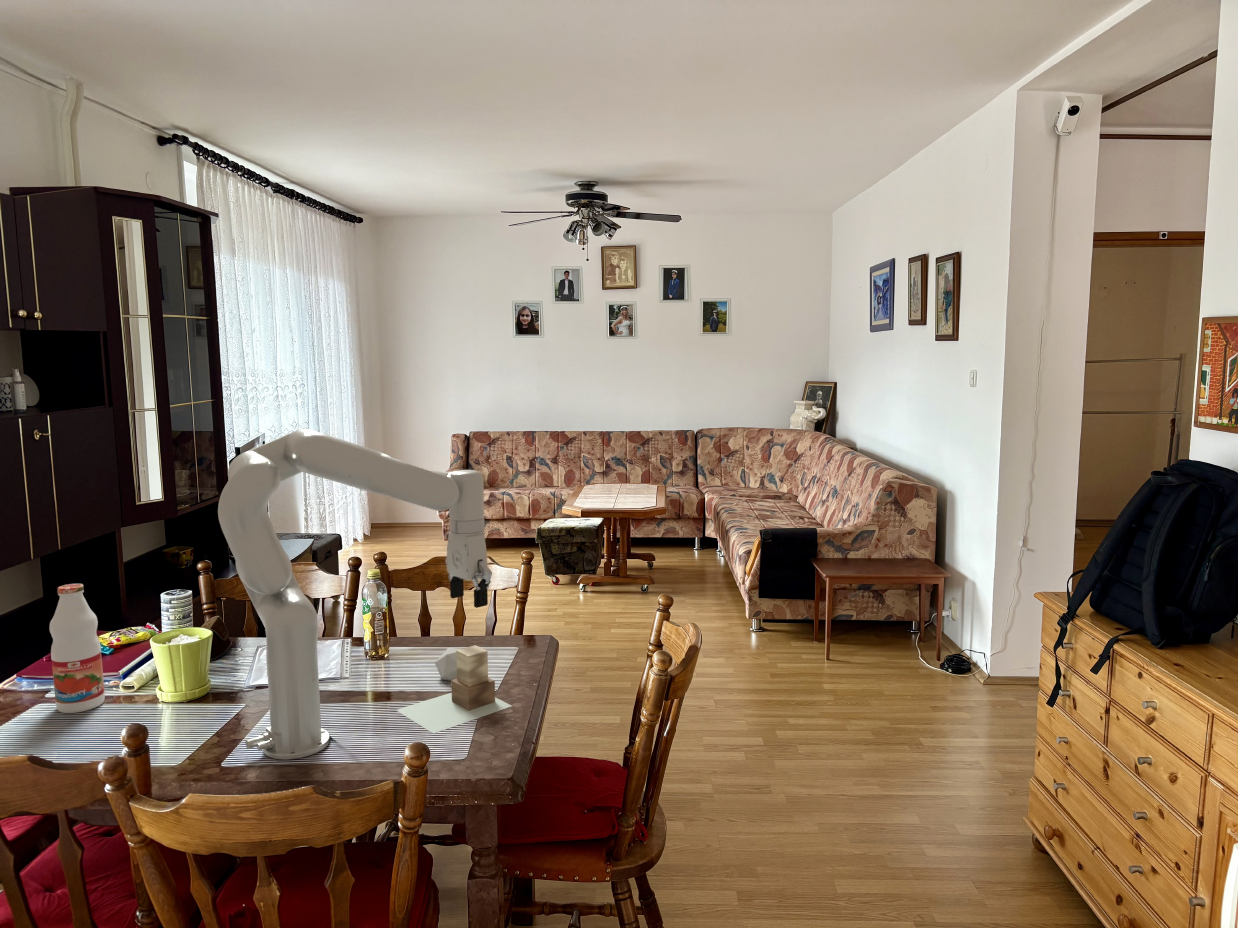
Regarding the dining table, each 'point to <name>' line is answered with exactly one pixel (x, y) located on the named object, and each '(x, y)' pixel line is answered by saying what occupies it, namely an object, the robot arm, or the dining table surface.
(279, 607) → the robot arm
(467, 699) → the walnut block
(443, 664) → the die
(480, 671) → the maple block
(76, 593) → the fruit juice
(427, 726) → the build board
